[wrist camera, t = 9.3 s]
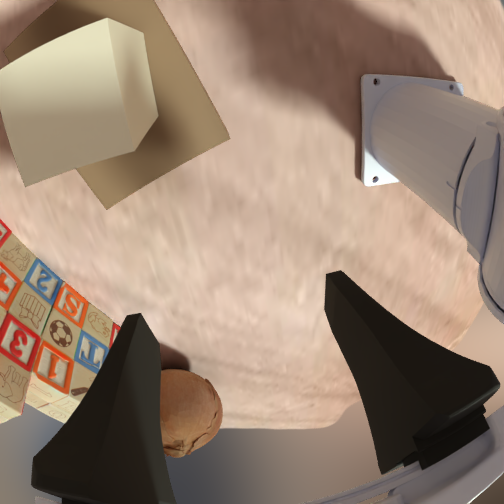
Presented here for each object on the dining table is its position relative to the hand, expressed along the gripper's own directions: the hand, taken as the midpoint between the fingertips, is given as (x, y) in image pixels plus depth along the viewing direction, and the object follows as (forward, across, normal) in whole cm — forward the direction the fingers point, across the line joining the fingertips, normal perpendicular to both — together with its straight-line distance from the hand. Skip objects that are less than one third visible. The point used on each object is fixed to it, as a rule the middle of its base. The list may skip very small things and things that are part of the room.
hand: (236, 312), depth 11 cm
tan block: (+10, +4, -9) cm, 14 cm away
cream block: (+8, +4, -9) cm, 12 cm away
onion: (+10, +9, +19) cm, 23 cm away
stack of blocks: (+10, +17, +4) cm, 20 cm away
